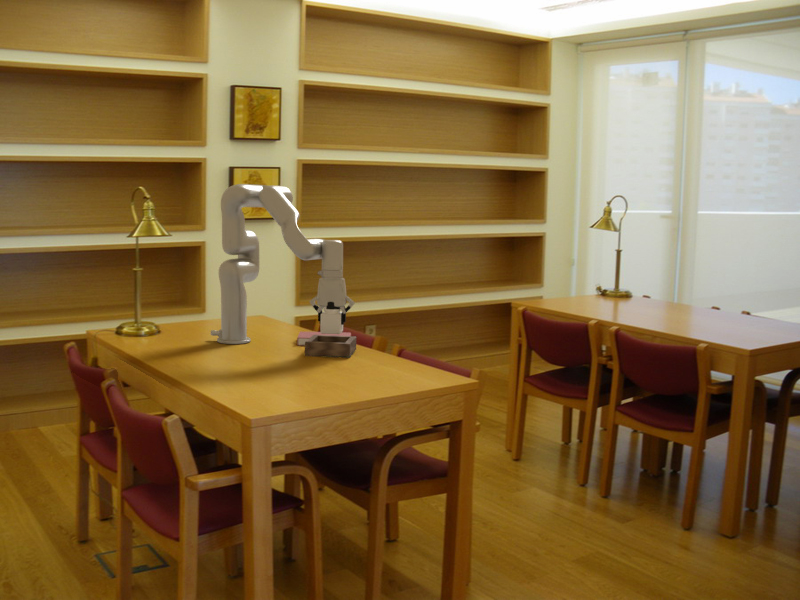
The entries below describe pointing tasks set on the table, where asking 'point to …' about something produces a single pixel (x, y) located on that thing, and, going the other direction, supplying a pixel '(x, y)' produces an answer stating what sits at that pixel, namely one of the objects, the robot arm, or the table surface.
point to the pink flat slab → (306, 335)
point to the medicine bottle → (331, 320)
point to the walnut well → (330, 346)
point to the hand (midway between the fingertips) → (331, 323)
